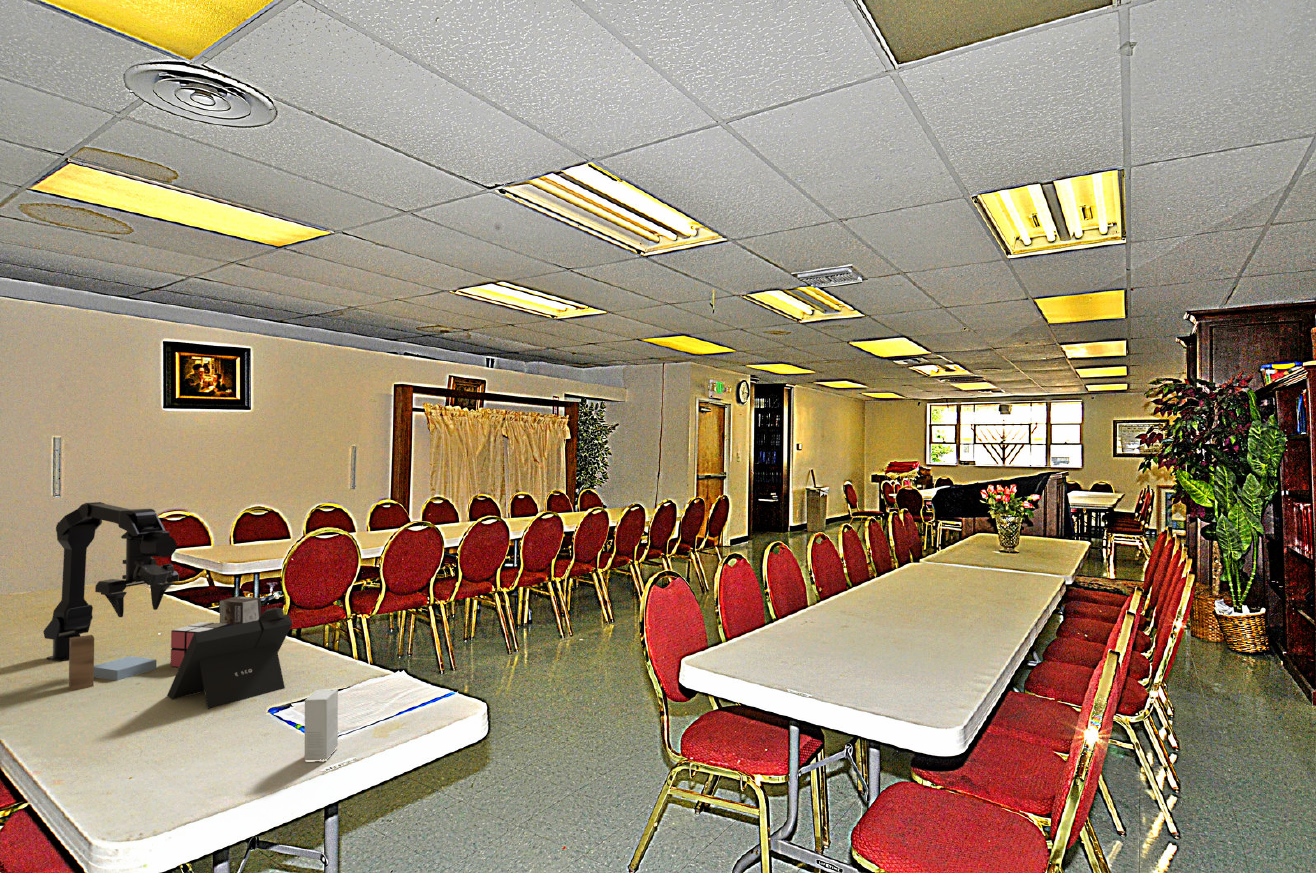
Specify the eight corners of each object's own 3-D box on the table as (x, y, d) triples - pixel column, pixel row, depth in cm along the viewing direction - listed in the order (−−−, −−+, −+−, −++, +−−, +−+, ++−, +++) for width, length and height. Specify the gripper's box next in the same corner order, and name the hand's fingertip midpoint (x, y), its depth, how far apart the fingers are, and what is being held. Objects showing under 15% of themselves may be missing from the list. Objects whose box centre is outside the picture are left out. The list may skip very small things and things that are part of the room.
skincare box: (315, 749, 140) (316, 688, 140) (338, 748, 140) (338, 688, 140) (303, 763, 134) (303, 699, 134) (326, 762, 134) (327, 699, 134)
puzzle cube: (200, 669, 190) (201, 632, 190) (169, 667, 192) (170, 630, 192) (230, 658, 200) (230, 623, 200) (200, 656, 202) (200, 621, 202)
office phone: (269, 659, 200) (269, 588, 200) (323, 679, 183) (324, 601, 183) (148, 688, 176) (149, 606, 176) (198, 713, 159) (199, 623, 160)
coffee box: (261, 653, 204) (262, 597, 205) (242, 659, 198) (242, 602, 199) (238, 650, 207) (238, 595, 208) (218, 656, 201) (218, 599, 202)
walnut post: (68, 686, 176) (69, 637, 176) (91, 681, 179) (92, 634, 179) (70, 690, 173) (71, 641, 173) (93, 686, 176) (94, 637, 176)
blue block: (90, 677, 184) (90, 666, 184) (130, 666, 193) (130, 655, 193) (117, 682, 180) (117, 670, 181) (156, 670, 190) (156, 659, 190)
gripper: (124, 562, 180) (123, 623, 180) (193, 552, 198) (192, 608, 197) (94, 560, 183) (93, 620, 183) (164, 550, 201) (164, 605, 201)
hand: (138, 613), depth 191 cm, fingers open, 9 cm apart
